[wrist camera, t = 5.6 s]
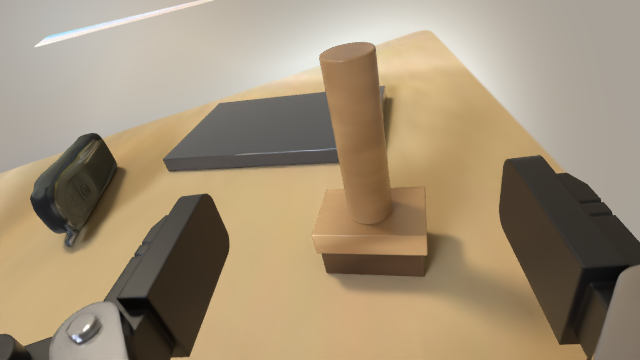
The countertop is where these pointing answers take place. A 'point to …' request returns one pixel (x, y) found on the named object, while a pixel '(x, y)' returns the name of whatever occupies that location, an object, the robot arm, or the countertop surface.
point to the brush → (365, 178)
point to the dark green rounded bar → (73, 186)
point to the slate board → (261, 134)
